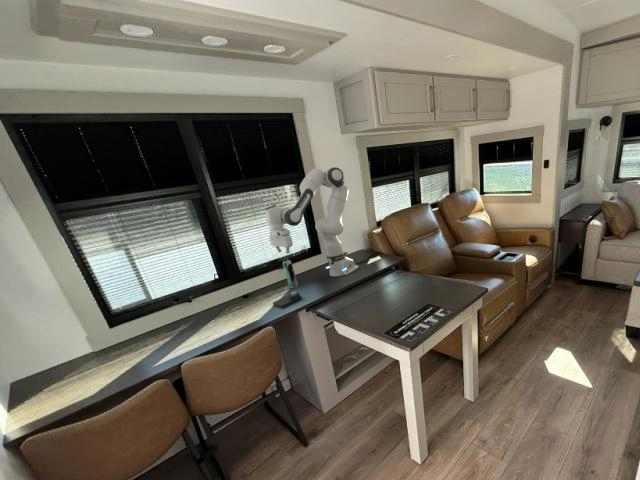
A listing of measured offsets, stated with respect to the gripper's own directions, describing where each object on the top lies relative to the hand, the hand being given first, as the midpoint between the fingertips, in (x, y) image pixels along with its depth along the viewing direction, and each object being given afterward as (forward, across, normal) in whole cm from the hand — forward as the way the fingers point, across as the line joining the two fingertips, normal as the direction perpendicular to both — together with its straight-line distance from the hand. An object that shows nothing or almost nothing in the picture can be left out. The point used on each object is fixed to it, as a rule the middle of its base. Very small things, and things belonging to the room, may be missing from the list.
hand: (283, 252), depth 203 cm
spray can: (+24, 0, 0) cm, 24 cm away
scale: (+24, +20, -18) cm, 36 cm away
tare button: (+20, +23, -14) cm, 33 cm away
